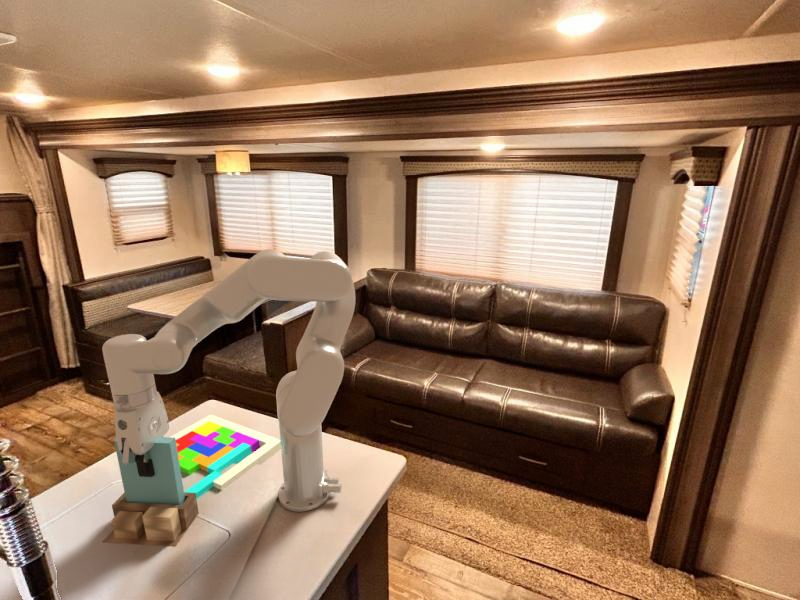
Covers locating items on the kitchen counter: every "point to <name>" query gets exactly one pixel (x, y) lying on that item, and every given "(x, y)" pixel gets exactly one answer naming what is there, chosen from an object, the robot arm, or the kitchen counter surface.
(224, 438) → the puzzle game
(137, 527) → the offcut short
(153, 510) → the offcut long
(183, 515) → the rack
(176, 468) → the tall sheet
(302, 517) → the kitchen counter surface
